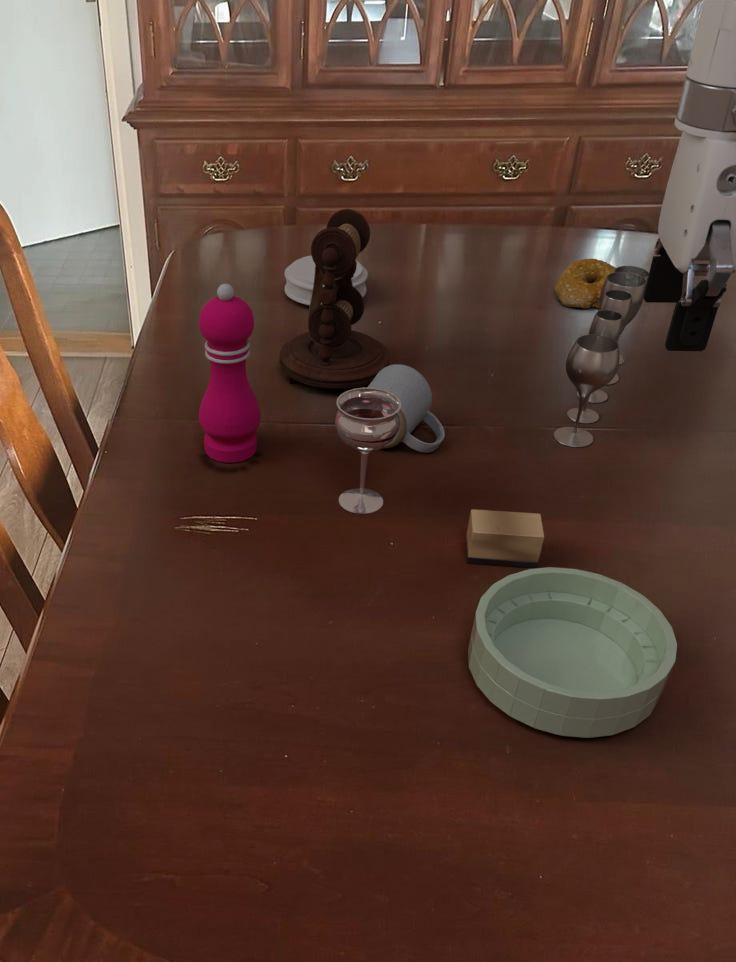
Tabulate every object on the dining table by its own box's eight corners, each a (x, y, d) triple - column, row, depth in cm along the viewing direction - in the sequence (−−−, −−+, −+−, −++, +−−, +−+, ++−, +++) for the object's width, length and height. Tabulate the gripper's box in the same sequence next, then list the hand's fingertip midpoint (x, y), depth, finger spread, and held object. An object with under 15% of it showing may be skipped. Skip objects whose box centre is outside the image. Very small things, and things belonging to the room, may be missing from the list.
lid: (304, 274, 150) (305, 242, 146) (377, 287, 145) (380, 255, 142) (270, 304, 141) (270, 271, 138) (347, 318, 137) (349, 285, 134)
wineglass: (320, 491, 104) (325, 394, 96) (374, 478, 106) (383, 382, 98) (346, 524, 100) (353, 425, 91) (402, 510, 101) (413, 412, 93)
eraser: (533, 544, 97) (540, 513, 94) (536, 568, 94) (544, 536, 91) (465, 540, 97) (471, 508, 95) (466, 563, 94) (472, 532, 92)
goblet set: (590, 347, 130) (614, 251, 120) (632, 355, 128) (660, 258, 119) (544, 443, 111) (568, 338, 102) (592, 454, 109) (622, 348, 100)
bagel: (538, 299, 142) (544, 268, 138) (579, 279, 147) (586, 249, 144) (595, 319, 136) (603, 287, 133) (635, 298, 142) (644, 267, 138)
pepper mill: (195, 463, 109) (185, 296, 95) (206, 432, 114) (197, 269, 100) (256, 467, 108) (254, 299, 94) (264, 435, 113) (263, 272, 100)
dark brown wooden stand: (298, 341, 132) (301, 192, 118) (399, 356, 128) (415, 205, 115) (264, 388, 122) (264, 232, 108) (373, 406, 118) (387, 247, 104)
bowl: (640, 619, 88) (656, 574, 84) (675, 752, 76) (696, 707, 72) (463, 605, 90) (472, 561, 86) (470, 734, 78) (480, 689, 74)
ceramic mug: (345, 444, 111) (350, 386, 106) (371, 413, 117) (377, 356, 111) (429, 466, 108) (438, 408, 103) (451, 434, 113) (461, 376, 108)
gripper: (822, 137, 63) (743, 371, 74) (753, 76, 75) (694, 285, 87) (706, 139, 64) (646, 370, 75) (657, 78, 76) (611, 284, 88)
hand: (672, 324), depth 81 cm, fingers open, 9 cm apart
